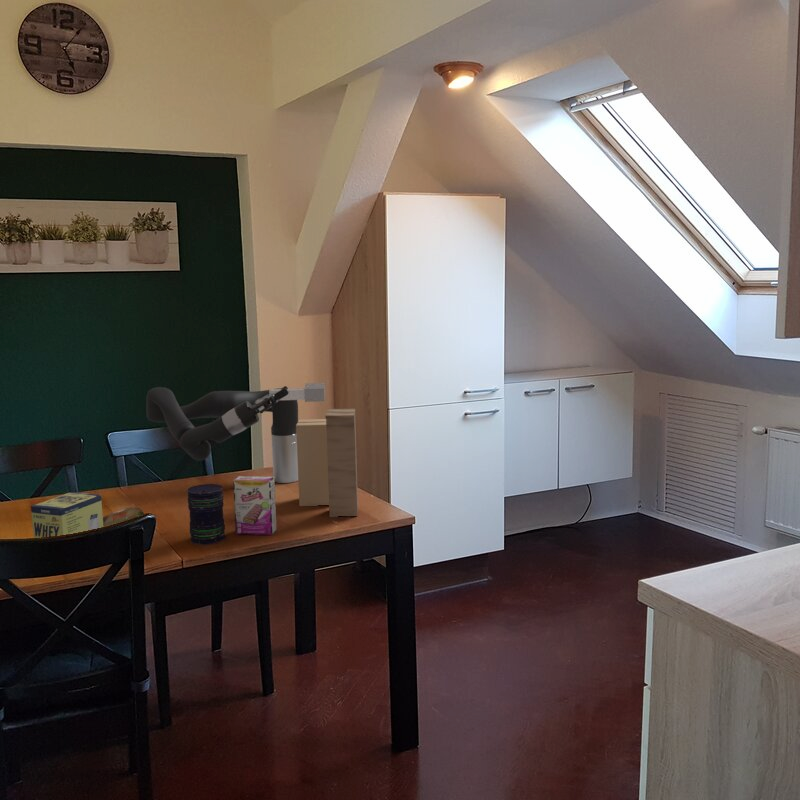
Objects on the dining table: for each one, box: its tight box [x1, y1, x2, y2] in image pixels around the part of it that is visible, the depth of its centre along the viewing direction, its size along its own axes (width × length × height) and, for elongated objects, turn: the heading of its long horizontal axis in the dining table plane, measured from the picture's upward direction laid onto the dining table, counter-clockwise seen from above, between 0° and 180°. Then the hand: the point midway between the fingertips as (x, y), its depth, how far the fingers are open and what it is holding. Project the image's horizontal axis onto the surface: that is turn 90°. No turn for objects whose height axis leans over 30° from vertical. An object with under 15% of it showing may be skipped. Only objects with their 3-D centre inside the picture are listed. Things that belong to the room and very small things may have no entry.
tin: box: [103, 506, 145, 526], centre depth 240 cm, size 15×3×8 cm, turn 148°
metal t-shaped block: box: [268, 382, 326, 403], centre depth 260 cm, size 10×17×4 cm, turn 94°
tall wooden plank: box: [325, 408, 359, 518], centre depth 258 cm, size 12×8×32 cm
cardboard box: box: [296, 418, 329, 507], centre depth 272 cm, size 10×12×27 cm
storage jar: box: [186, 483, 226, 546], centre depth 237 cm, size 10×10×15 cm
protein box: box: [30, 491, 104, 539], centre depth 226 cm, size 10×16×16 cm
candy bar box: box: [233, 475, 277, 536], centre depth 242 cm, size 11×5×16 cm, turn 84°
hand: (287, 389), depth 260 cm, fingers closed on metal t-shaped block, 3 cm apart
